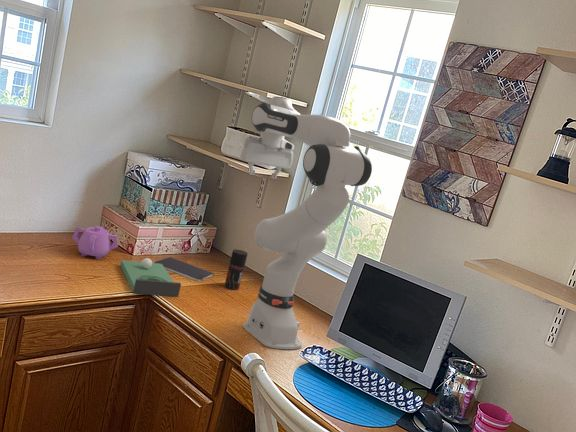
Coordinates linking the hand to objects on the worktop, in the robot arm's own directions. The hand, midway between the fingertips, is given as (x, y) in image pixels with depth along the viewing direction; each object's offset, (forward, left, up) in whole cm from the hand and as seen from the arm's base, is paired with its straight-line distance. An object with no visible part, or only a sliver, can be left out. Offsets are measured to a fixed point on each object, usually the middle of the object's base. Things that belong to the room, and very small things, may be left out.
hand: (262, 176), depth 223 cm
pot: (+29, +50, -47) cm, 74 cm away
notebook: (+21, +15, -48) cm, 54 cm away
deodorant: (+6, -1, -47) cm, 48 cm away
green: (+6, +33, -47) cm, 58 cm away
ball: (+12, +33, -43) cm, 55 cm away
